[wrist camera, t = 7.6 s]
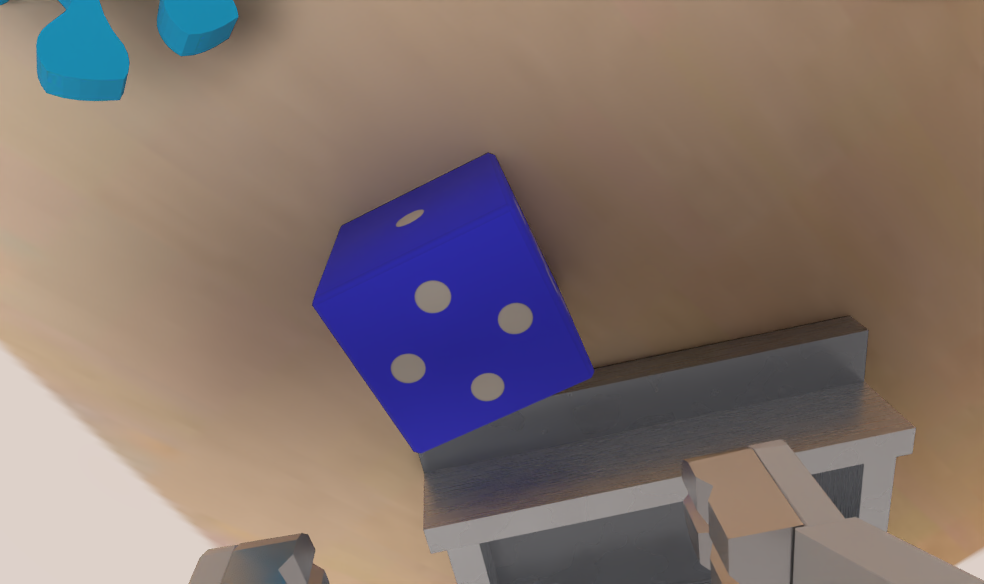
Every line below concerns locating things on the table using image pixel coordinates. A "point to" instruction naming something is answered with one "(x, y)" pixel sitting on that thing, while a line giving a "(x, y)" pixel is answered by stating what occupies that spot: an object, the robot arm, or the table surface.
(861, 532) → the robot arm
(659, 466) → the open chest
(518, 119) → the table surface
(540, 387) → the die
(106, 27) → the gear
